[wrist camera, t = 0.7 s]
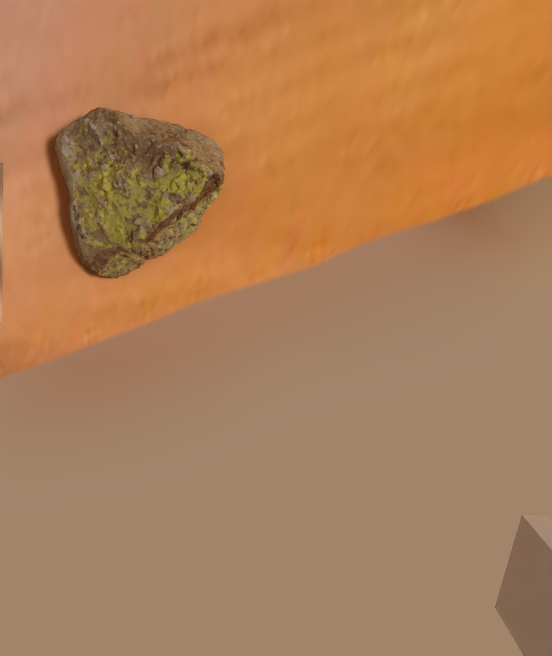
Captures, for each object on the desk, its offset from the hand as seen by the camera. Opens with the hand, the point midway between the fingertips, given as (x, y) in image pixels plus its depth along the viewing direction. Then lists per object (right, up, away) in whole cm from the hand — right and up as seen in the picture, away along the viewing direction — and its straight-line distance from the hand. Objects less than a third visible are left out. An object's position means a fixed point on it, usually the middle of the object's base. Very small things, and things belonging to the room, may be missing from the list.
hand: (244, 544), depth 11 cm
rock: (-10, +15, +24) cm, 30 cm away
